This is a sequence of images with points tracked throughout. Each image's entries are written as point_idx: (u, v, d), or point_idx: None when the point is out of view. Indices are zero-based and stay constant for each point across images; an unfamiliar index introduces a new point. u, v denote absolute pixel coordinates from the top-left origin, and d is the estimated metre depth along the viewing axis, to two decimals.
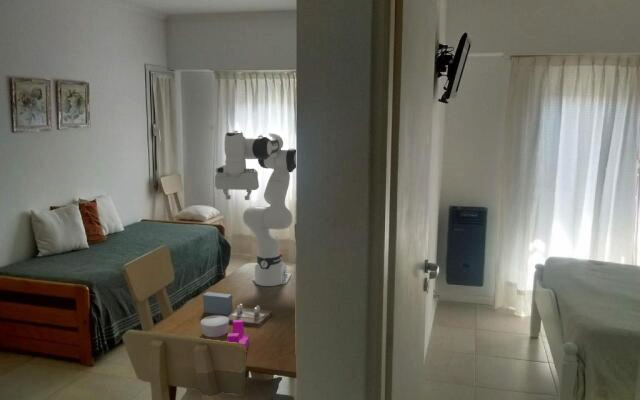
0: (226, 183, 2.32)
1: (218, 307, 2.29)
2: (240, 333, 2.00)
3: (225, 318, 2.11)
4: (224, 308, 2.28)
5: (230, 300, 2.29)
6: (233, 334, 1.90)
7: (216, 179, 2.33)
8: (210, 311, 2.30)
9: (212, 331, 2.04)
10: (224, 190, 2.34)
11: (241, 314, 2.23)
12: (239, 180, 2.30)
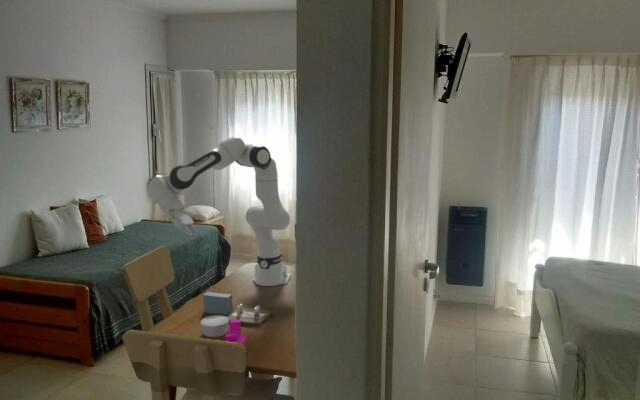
0: None
1: (218, 307, 2.29)
2: (237, 333, 1.99)
3: (225, 318, 2.11)
4: (224, 308, 2.28)
5: (230, 300, 2.29)
6: (231, 334, 1.90)
7: None
8: (210, 311, 2.30)
9: (212, 331, 2.04)
10: None
11: (241, 314, 2.23)
12: None
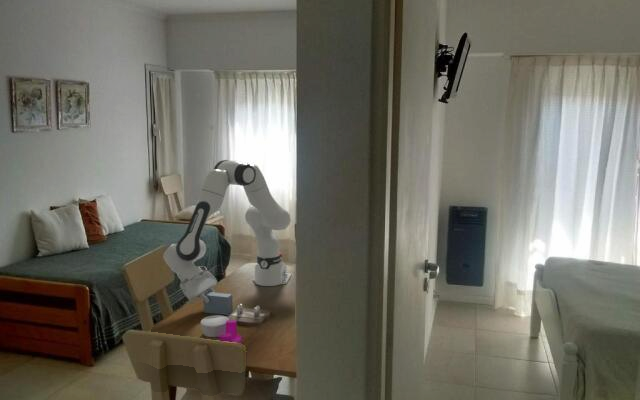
0: None
1: (218, 307, 2.28)
2: (233, 333, 2.00)
3: (225, 318, 2.11)
4: (224, 308, 2.28)
5: (231, 300, 2.29)
6: (225, 334, 1.90)
7: None
8: (210, 311, 2.30)
9: (212, 331, 2.04)
10: None
11: (241, 314, 2.23)
12: None
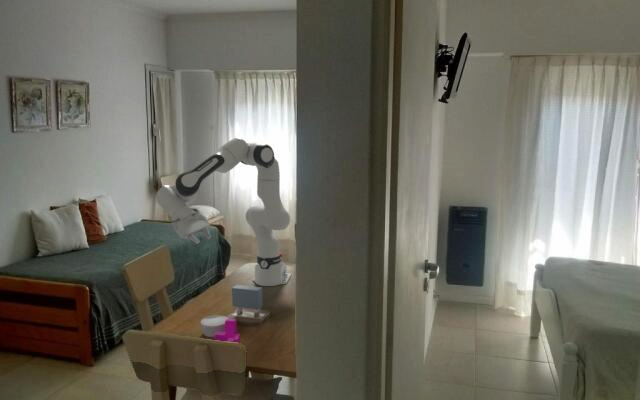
0: None
1: (248, 301, 2.20)
2: (231, 332, 2.01)
3: (225, 318, 2.11)
4: (253, 302, 2.19)
5: (260, 293, 2.21)
6: (221, 333, 1.91)
7: None
8: (239, 305, 2.22)
9: (212, 331, 2.04)
10: None
11: (241, 314, 2.23)
12: None
